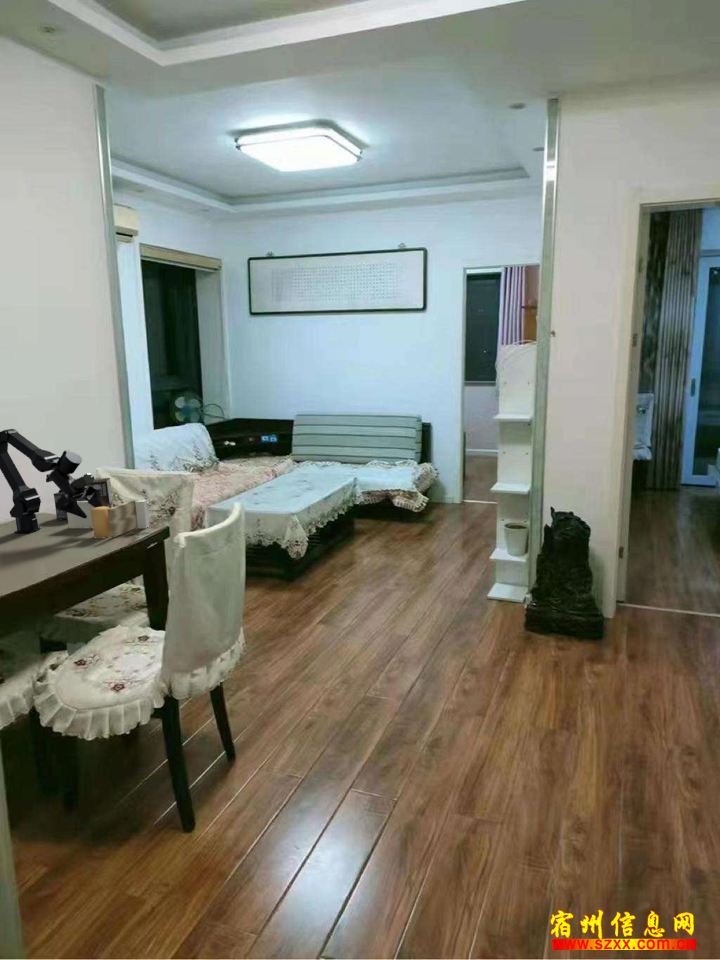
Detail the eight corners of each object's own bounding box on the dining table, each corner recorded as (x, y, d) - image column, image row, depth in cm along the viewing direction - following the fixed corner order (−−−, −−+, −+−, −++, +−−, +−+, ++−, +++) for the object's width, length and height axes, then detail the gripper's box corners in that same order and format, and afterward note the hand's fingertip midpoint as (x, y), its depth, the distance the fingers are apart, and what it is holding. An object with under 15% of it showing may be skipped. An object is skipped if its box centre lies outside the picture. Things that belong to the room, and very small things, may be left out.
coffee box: (115, 517, 261) (110, 477, 258) (112, 522, 255) (107, 480, 251) (90, 519, 259) (85, 479, 256) (87, 524, 253) (82, 482, 250)
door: (135, 526, 246) (132, 499, 244) (139, 526, 246) (136, 499, 244) (110, 537, 233) (107, 509, 231) (114, 537, 232) (111, 509, 230)
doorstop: (92, 539, 232) (89, 511, 230) (95, 534, 238) (92, 507, 236) (111, 537, 233) (107, 509, 231) (113, 533, 239) (110, 505, 237)
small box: (90, 515, 267) (87, 489, 265) (81, 519, 260) (78, 493, 258) (64, 515, 268) (61, 490, 266) (56, 519, 261) (52, 493, 259)
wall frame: (149, 526, 246) (146, 500, 244) (146, 528, 244) (143, 501, 242) (71, 526, 250) (68, 500, 248) (68, 528, 247) (64, 502, 245)
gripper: (57, 472, 224) (89, 505, 223) (94, 462, 242) (123, 493, 241) (41, 494, 228) (72, 527, 227) (79, 483, 246) (107, 513, 245)
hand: (95, 514), depth 235 cm, fingers open, 9 cm apart
